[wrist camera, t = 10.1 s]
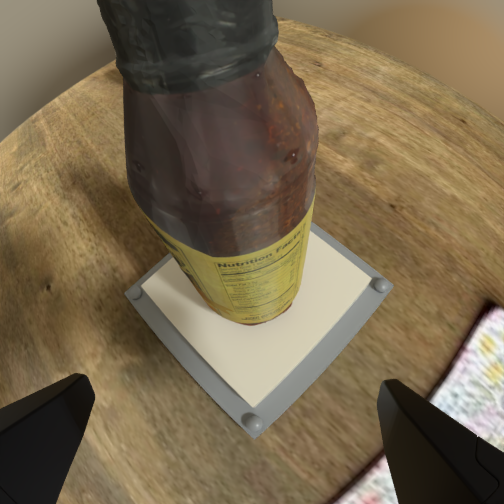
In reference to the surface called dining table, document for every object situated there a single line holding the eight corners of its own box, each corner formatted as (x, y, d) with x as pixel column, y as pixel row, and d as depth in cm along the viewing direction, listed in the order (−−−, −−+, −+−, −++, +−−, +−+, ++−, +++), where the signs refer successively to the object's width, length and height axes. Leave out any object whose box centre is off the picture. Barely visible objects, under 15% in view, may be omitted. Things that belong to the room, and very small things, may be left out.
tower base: (256, 437, 18) (252, 442, 15) (132, 300, 23) (115, 285, 21) (387, 293, 22) (400, 276, 19) (256, 192, 27) (253, 169, 25)
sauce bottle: (207, 243, 22) (96, -68, 4) (298, 239, 21) (299, -105, 4) (201, 336, 19) (-51, -13, 1) (304, 334, 18) (372, -139, 1)
